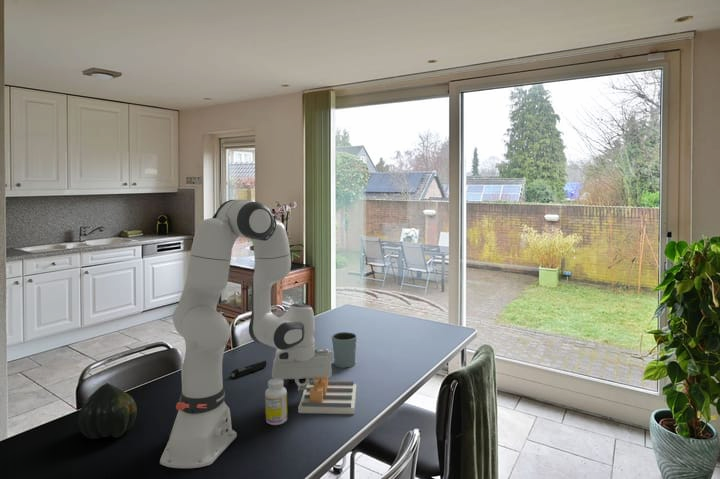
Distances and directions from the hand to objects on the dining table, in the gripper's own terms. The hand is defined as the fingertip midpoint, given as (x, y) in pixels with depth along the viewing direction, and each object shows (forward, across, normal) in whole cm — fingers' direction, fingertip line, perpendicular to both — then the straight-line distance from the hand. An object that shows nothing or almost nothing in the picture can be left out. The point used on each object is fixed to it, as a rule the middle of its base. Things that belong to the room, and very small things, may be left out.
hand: (302, 389), depth 155 cm
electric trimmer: (+4, +21, -26) cm, 34 cm away
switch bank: (+4, -9, +2) cm, 10 cm away
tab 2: (+2, -6, +1) cm, 6 cm away
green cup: (+4, -17, -31) cm, 35 cm away
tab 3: (+2, -5, +6) cm, 8 cm away
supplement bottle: (+4, +8, +13) cm, 16 cm away
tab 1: (+2, -7, -4) cm, 8 cm away
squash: (+4, +57, +14) cm, 59 cm away
